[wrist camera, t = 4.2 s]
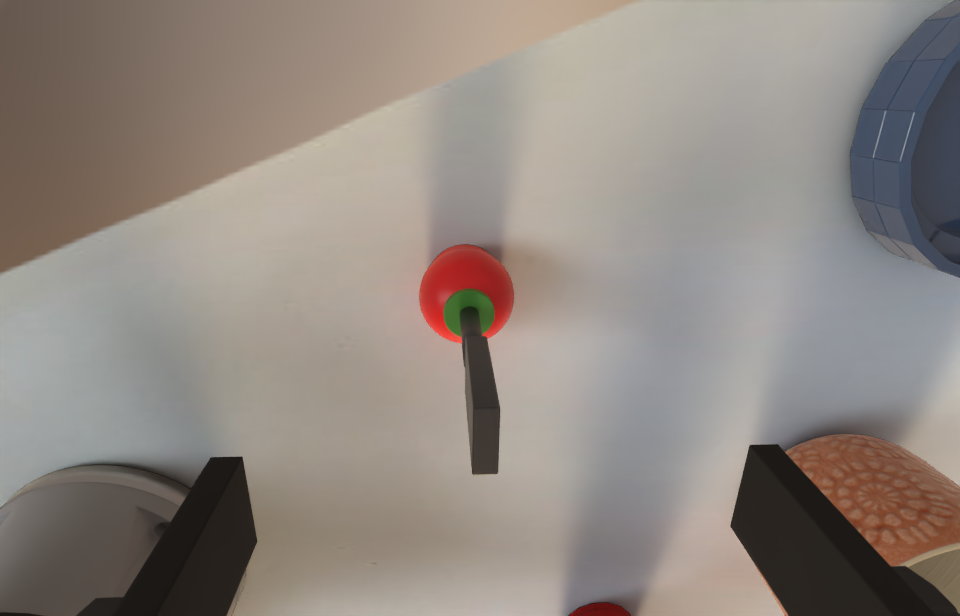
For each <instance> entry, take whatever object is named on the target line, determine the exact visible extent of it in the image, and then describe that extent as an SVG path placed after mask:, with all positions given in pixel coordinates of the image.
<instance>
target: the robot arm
mask: <svg viewBox="0 0 960 616" xmlns="http://www.w3.org/2000/svg"><path fill="white" fill-rule="evenodd" d="M730 526H731V528H732V529H733V531H734V532H735V534H736V536H737V537H738V539H739V540H740V542H741V543H742V545H743V546H744V548H745V549H746V551H747V553H748V554H749V556H750V557H751V559H752V560H753V562H754V563H755V565H756V566H757V568H758V569H759V571H760V573H761V574H762V576H763V577H764V579H765V580H766V582H767V583H768V585H769V586H770V588H771V590H772V591H773V593H774V594H775V596H776V597H777V599H778V600H779V602H780V603H781V605H782V606H783V608H784V610H785V611H786V613H787V614H788V616H960V614H959V613H958V612H957V608H956V607H955V606H954V605H953V604H952V603H951V602H950V601H949V600H948V599H947V598H946V597H945V596H944V595H943V594H942V593H941V592H940V591H939V590H938V589H937V588H936V587H935V586H934V585H933V584H931V583H930V582H928V581H927V580H925V579H924V578H922V577H921V576H920V575H918V574H917V573H915V572H914V571H912V570H911V569H909V568H908V567H906V566H890V565H889V564H888V563H887V562H886V561H885V560H884V558H883V557H882V556H881V555H880V554H879V553H878V552H877V551H876V550H875V549H874V548H873V547H872V546H871V544H870V543H869V542H868V541H867V540H866V539H865V538H864V537H863V536H862V535H861V534H860V533H859V532H858V530H857V529H856V528H855V527H854V526H853V525H852V524H851V523H850V522H849V521H848V520H847V519H846V518H845V516H844V515H843V514H842V513H841V512H840V511H839V510H838V509H837V508H836V507H835V506H834V505H833V504H832V502H831V501H830V500H829V499H828V498H827V497H826V496H825V495H824V494H823V493H822V492H821V491H820V490H819V488H818V487H817V486H816V485H815V484H814V483H813V482H812V481H811V480H810V479H809V478H808V477H807V475H806V474H805V473H804V472H803V471H802V470H801V469H800V468H799V467H798V466H797V465H796V464H795V463H794V461H793V460H792V459H791V458H790V457H789V456H788V455H787V454H786V453H785V452H784V451H783V450H782V449H781V447H780V446H779V445H778V444H772V445H750V446H749V450H748V454H747V459H746V463H745V467H744V471H743V475H742V480H741V484H740V488H739V492H738V496H737V500H736V505H735V509H734V513H733V517H732V521H731V525H730ZM256 543H257V537H256V532H255V526H254V520H253V515H252V509H251V503H250V497H249V492H248V486H247V480H246V475H245V469H244V463H243V457H211V458H210V460H209V461H208V463H207V464H206V466H205V468H204V469H203V471H202V472H201V474H200V476H199V477H198V479H197V480H196V482H195V484H194V485H193V487H192V488H191V489H189V488H187V487H185V486H184V485H182V484H179V483H177V482H175V481H173V480H171V479H168V478H166V477H163V476H161V475H157V474H154V473H151V472H148V471H144V470H139V469H135V468H129V467H122V466H111V465H90V466H79V467H72V468H67V469H63V470H59V471H56V472H53V473H50V474H47V475H44V476H42V477H40V478H38V479H36V480H34V481H32V482H31V483H29V484H27V485H26V486H24V487H23V488H22V489H20V490H19V491H18V492H17V493H16V494H15V495H14V496H13V497H12V498H10V499H9V500H8V501H7V502H6V503H5V504H4V505H3V506H2V507H1V508H0V616H232V614H233V612H234V610H235V607H236V605H237V602H238V600H239V597H240V594H241V592H242V589H243V586H244V582H245V576H246V567H247V565H248V563H249V560H250V558H251V555H252V553H253V550H254V548H255V546H256Z"/></svg>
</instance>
